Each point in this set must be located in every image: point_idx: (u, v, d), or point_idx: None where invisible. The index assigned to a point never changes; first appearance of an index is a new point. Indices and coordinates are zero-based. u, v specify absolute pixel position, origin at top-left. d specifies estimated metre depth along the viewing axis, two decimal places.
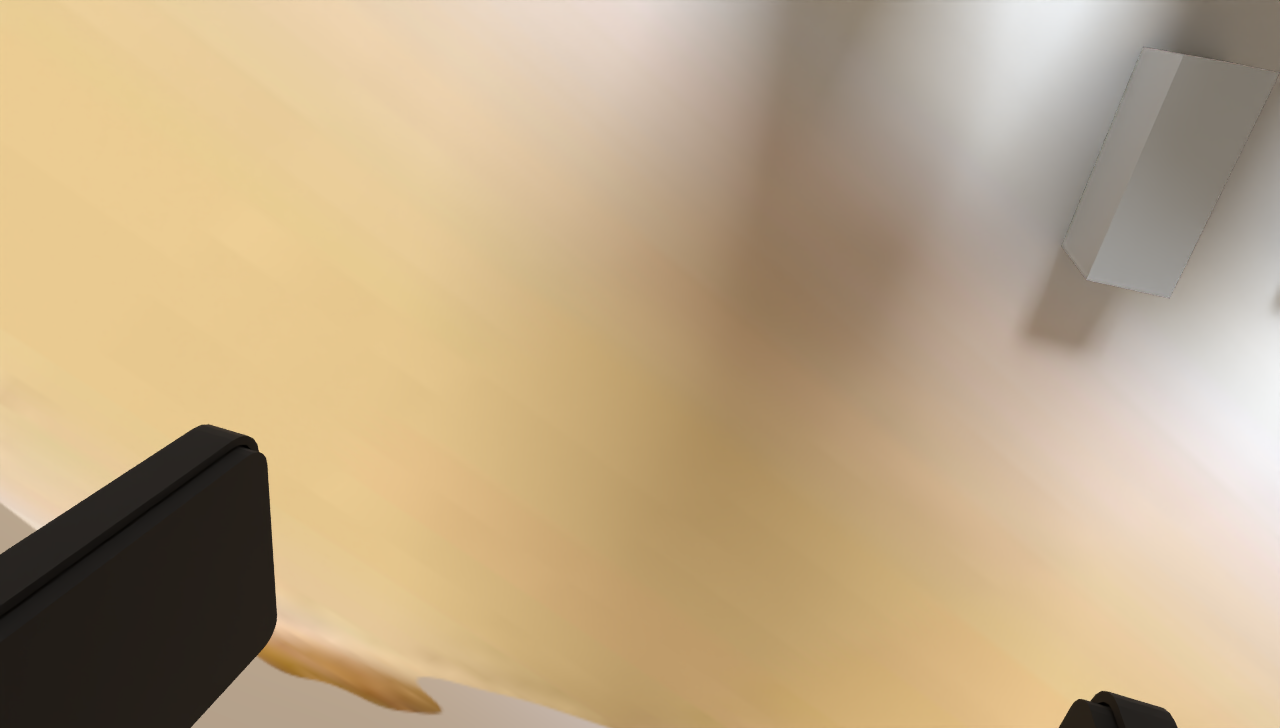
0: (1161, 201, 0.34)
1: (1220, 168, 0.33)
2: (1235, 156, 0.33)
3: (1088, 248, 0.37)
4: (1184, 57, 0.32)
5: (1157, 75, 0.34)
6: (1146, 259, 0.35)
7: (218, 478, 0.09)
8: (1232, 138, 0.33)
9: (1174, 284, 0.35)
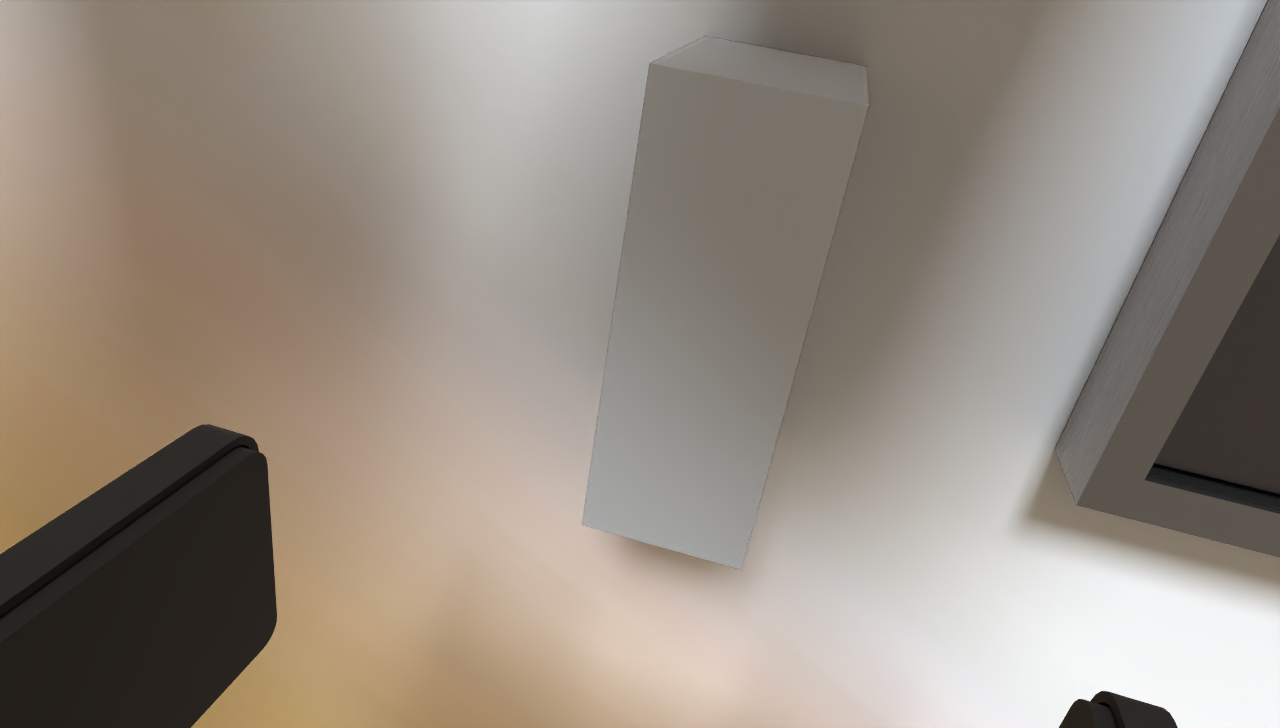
0: (681, 385, 0.15)
1: (783, 322, 0.14)
2: (809, 297, 0.14)
3: None
4: (652, 68, 0.13)
5: None
6: (680, 495, 0.16)
7: (218, 478, 0.09)
8: (794, 258, 0.14)
9: (745, 545, 0.17)
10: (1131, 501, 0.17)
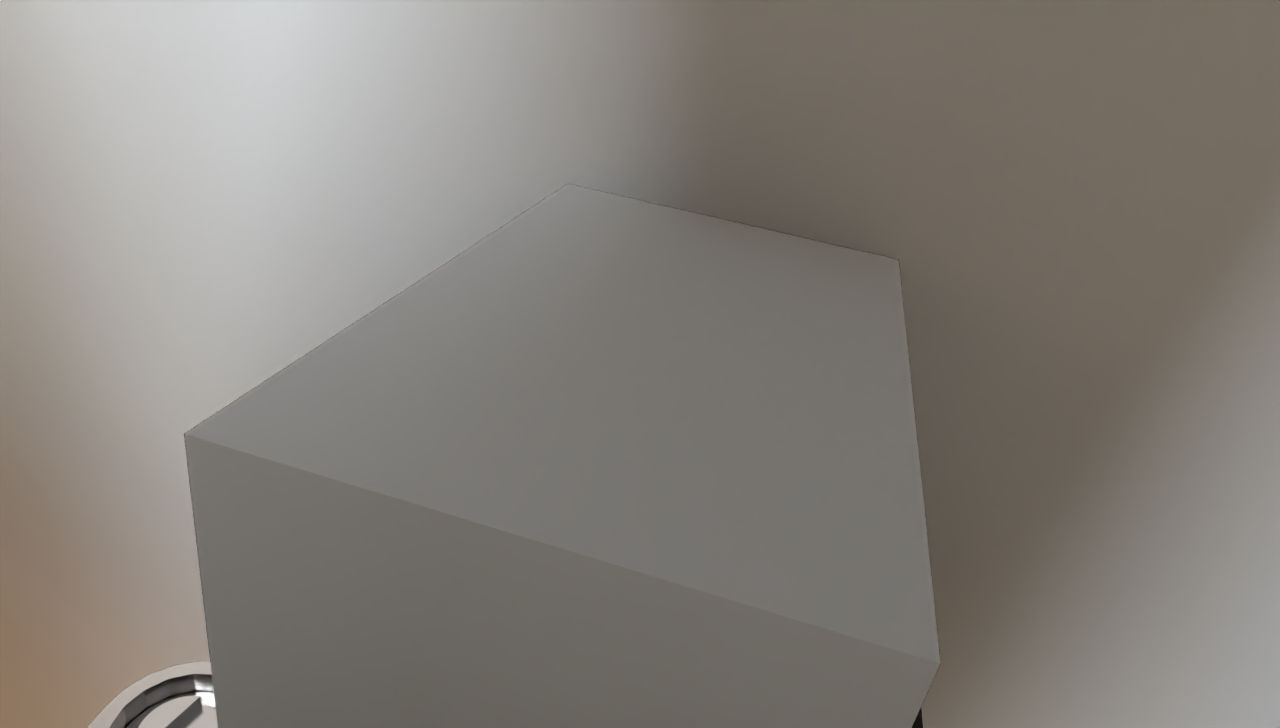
0: None
1: None
2: None
3: None
4: (193, 449, 0.04)
5: None
6: None
7: None
8: None
9: None
10: None
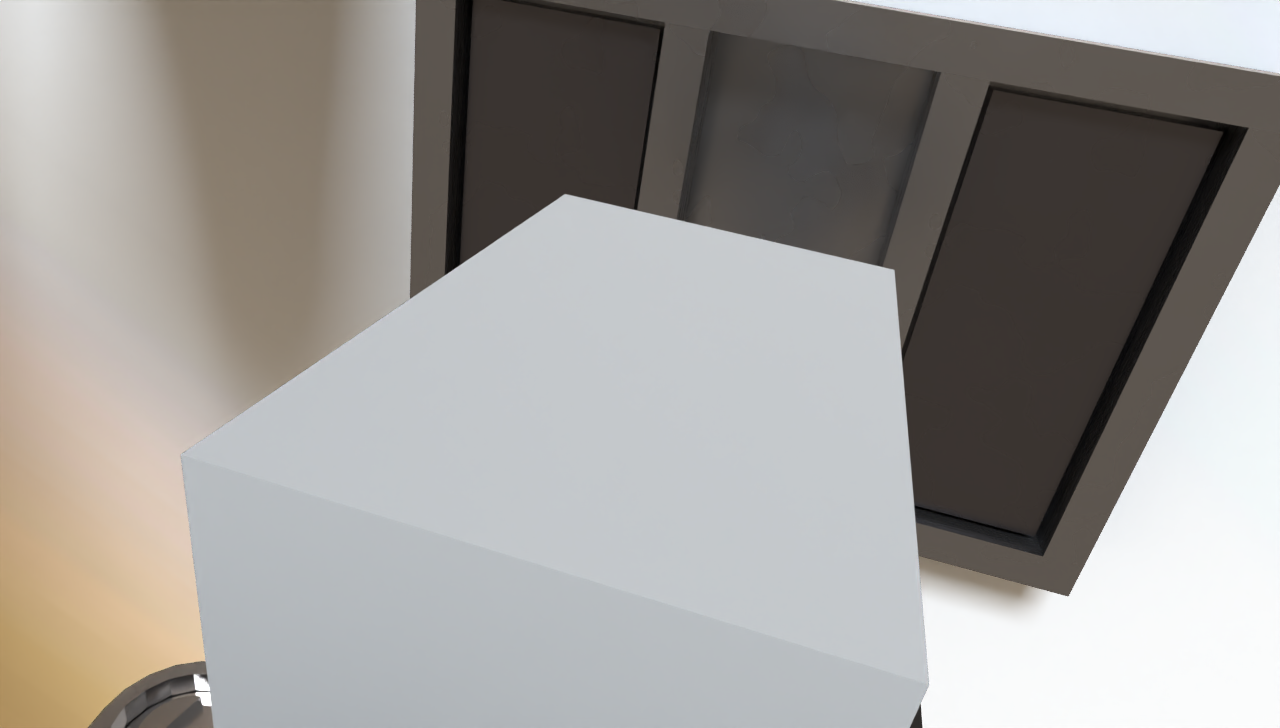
0: None
1: None
2: None
3: None
4: (190, 470, 0.04)
5: None
6: None
7: None
8: None
9: None
10: None
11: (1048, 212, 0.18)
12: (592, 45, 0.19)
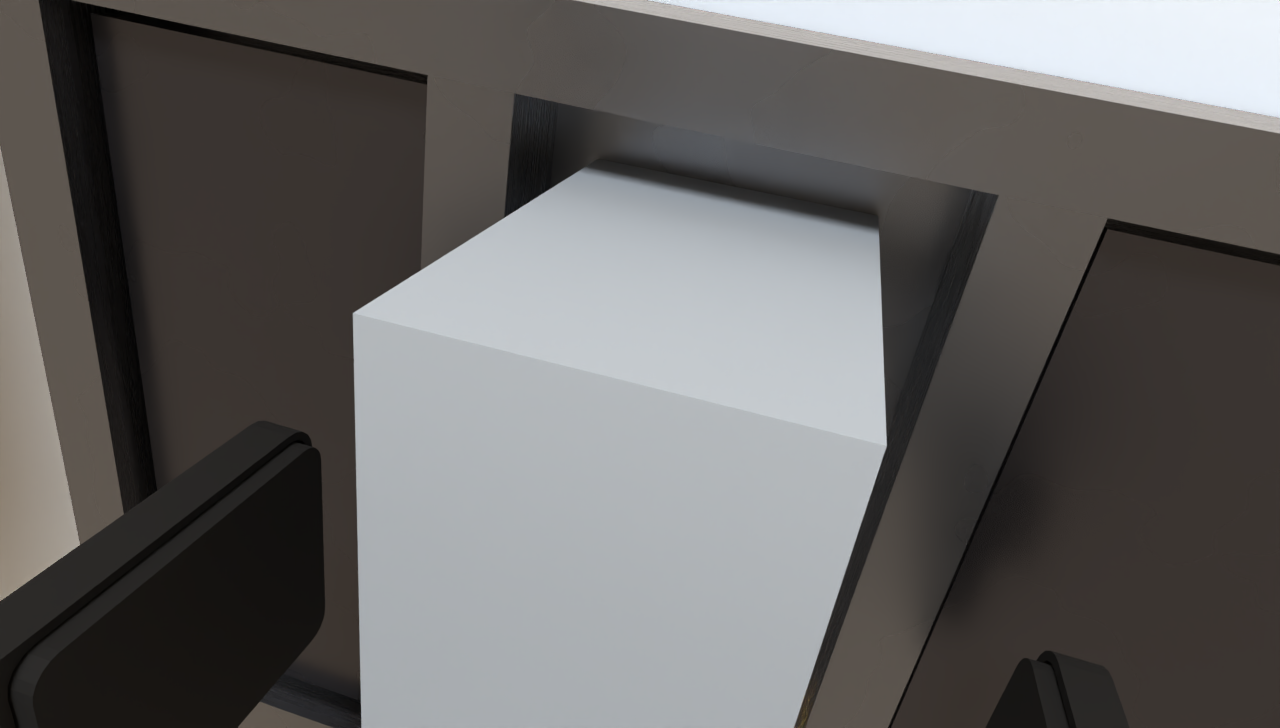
0: None
1: None
2: None
3: None
4: (359, 324, 0.05)
5: None
6: None
7: (278, 472, 0.09)
8: (719, 724, 0.06)
9: None
10: None
11: (1208, 468, 0.09)
12: (312, 112, 0.10)
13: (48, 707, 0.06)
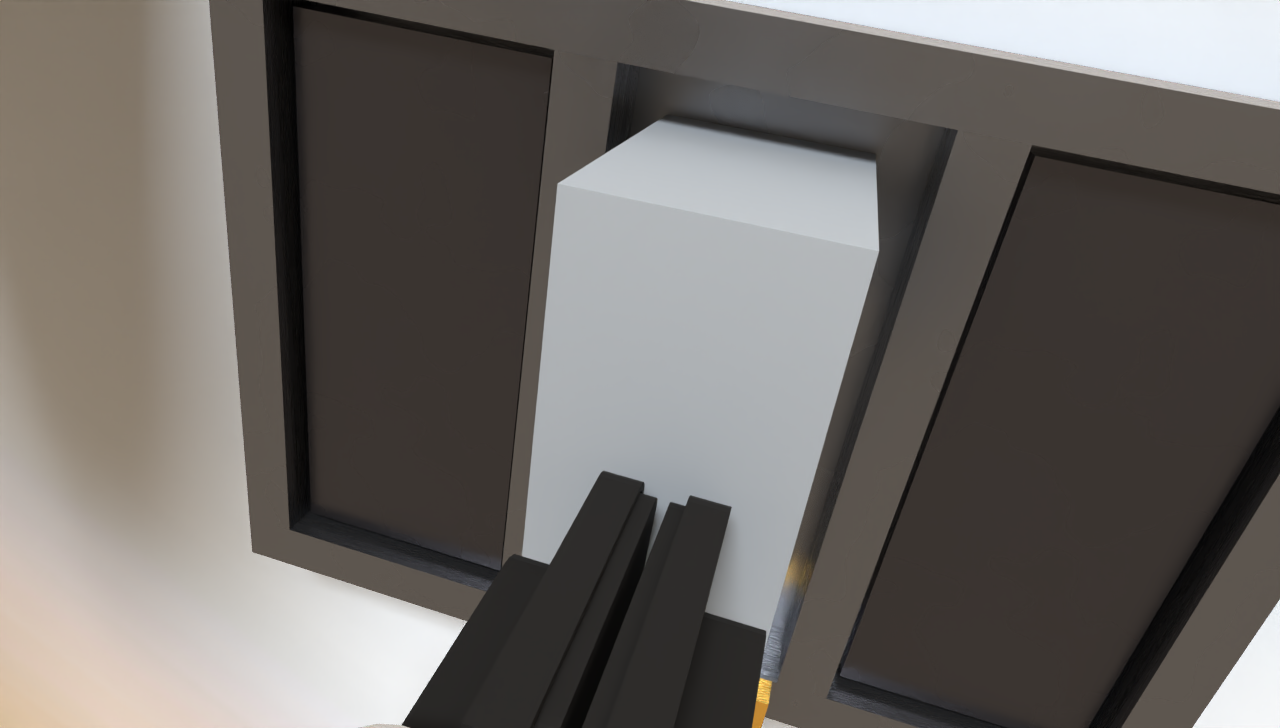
0: None
1: (759, 534, 0.10)
2: (796, 504, 0.10)
3: None
4: (561, 190, 0.09)
5: None
6: None
7: (645, 526, 0.09)
8: (774, 452, 0.10)
9: None
10: (289, 549, 0.18)
11: (1111, 331, 0.12)
12: (459, 79, 0.13)
13: None
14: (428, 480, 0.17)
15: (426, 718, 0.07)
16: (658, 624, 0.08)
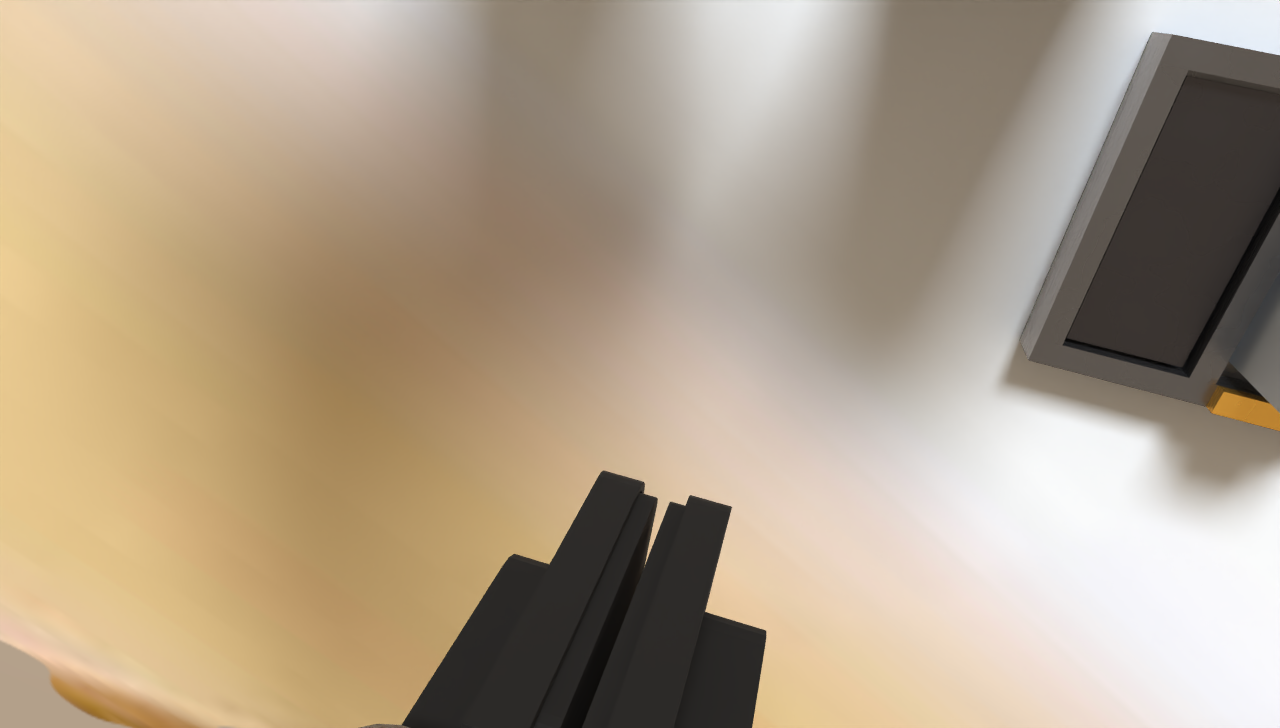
0: None
1: None
2: None
3: None
4: None
5: None
6: None
7: (645, 525, 0.09)
8: None
9: None
10: (1056, 357, 0.34)
11: None
12: (1268, 111, 0.29)
13: None
14: (1157, 316, 0.33)
15: (426, 718, 0.07)
16: (658, 624, 0.08)
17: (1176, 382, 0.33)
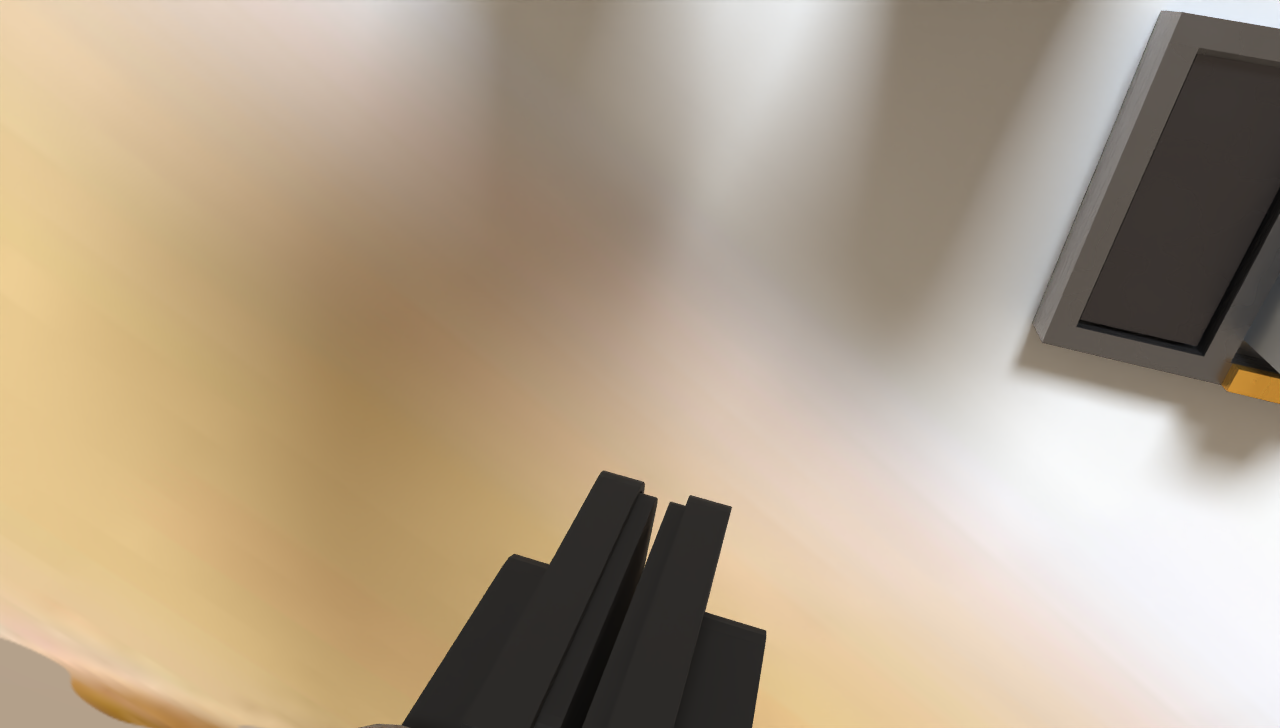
0: None
1: None
2: None
3: None
4: None
5: None
6: None
7: (645, 526, 0.09)
8: None
9: None
10: (1070, 339, 0.34)
11: None
12: None
13: None
14: (1170, 295, 0.33)
15: (426, 718, 0.07)
16: (658, 624, 0.08)
17: (1191, 361, 0.33)
